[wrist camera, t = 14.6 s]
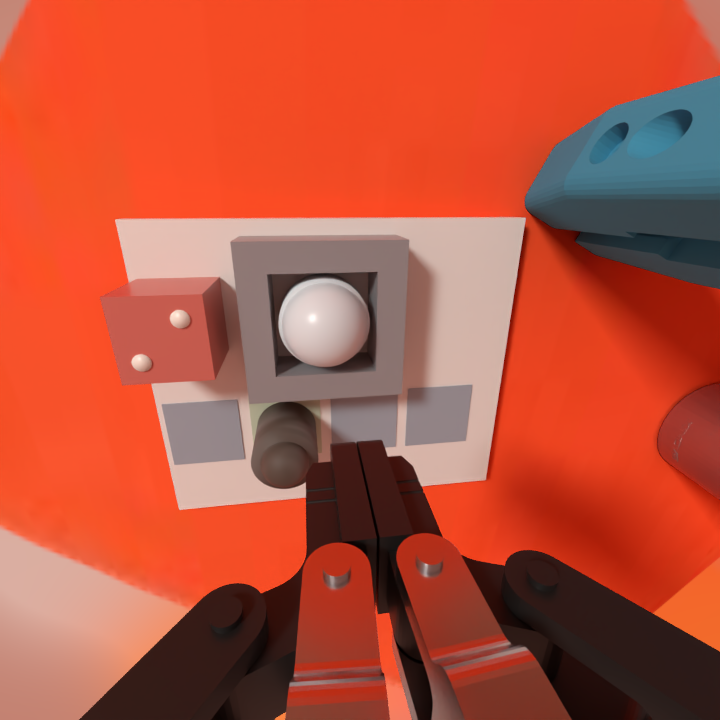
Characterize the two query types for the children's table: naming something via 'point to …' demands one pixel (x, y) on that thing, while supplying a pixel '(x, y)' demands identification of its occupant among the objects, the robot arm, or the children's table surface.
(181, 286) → the die
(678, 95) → the block
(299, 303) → the dome
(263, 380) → the dome housing
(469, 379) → the game board
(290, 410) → the pawn
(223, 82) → the children's table surface
